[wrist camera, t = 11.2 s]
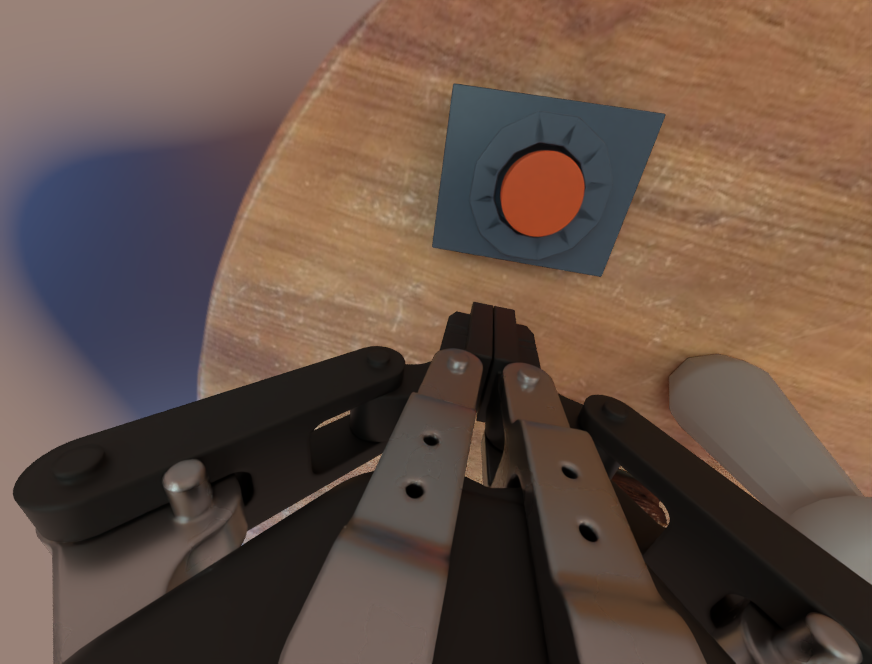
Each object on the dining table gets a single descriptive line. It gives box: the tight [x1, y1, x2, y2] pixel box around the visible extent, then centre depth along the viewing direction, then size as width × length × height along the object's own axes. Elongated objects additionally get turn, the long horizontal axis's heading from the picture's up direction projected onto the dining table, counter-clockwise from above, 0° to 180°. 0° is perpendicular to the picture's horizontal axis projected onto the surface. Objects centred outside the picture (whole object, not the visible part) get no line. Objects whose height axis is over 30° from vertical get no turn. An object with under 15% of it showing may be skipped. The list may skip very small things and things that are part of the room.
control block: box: [432, 84, 666, 277], centre depth 18 cm, size 10×8×4 cm
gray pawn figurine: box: [669, 354, 872, 585], centre depth 18 cm, size 6×6×13 cm
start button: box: [500, 150, 585, 237], centre depth 16 cm, size 4×4×2 cm
